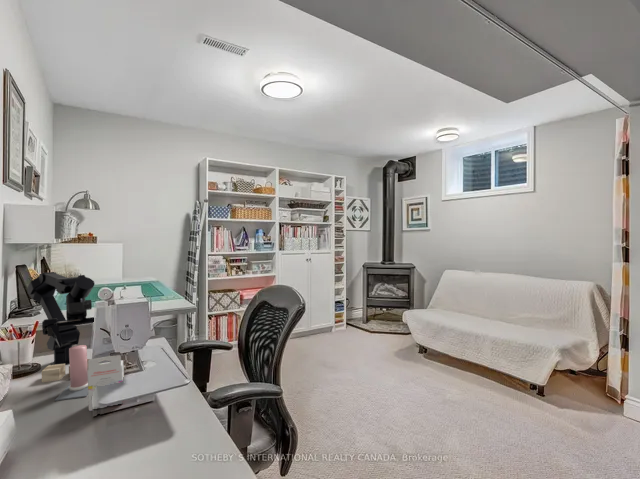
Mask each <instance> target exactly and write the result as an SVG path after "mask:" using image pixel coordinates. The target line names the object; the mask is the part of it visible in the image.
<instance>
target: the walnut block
mask: <svg viewBox="0 0 640 479" xmlns="http://www.w3.org/2000/svg"><path fill="white" fill-rule="evenodd" d="M89 359H90V358H87V368H88V360H89ZM68 378H70V365H68Z"/></svg>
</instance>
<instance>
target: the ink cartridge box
mask: <svg viewBox="0 0 640 479" xmlns="http://www.w3.org/2000/svg"><path fill="white" fill-rule="evenodd" d="M88 359H89V360H88V371H87V372H88V395H87V399H88V402H87V403H88V411H89V412H91V411H93V410H92V396H93V392H94V391H95V388H96V386H105V385H110V384H114V383H120V382H122V381H123V377H124V378H125V370H124V359H123V360H122V357H121V355H120V354H117V355H112V356H111V355H110V356H103V357H97V358H88ZM104 361H106V362H104ZM108 361H109V362H108ZM100 362H103V363H100Z"/></svg>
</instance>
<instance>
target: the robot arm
mask: <svg viewBox="0 0 640 479" xmlns="http://www.w3.org/2000/svg"><path fill="white" fill-rule="evenodd" d="M94 287H95V281H94V280H93V279H92V278H89V277H87V276H86V275H85V274H80V275H78V276H74V277H73V276H72V277H71V276H69V277H68V276H67V277H66V276H64V275H61V274H58V273H57V272H56V271H49V272H48V271H47V272H42V273H40V274H38V277H36V278H34V279H33V280H31V281H30V282H29V284H28V286H27V291H26V292H27V294H28V295H29V296H30V298H31V300H33V301H35V302H37V303H40V305H41V307H42V309H43V311H44V312H43V313H44V314H45V316H46V319H44V320H43V321H41V322H42V323H41V328H42V329H41V330H42V335H45V336H47V337H49V339H48V340H47V342H46V346H47V349H48V350H50V351H53V361H52V362H51V363H50V364H49V365H57V364H65V365H70V361H69V348H71V347H73V346H74V345H75V346H76V345H78V344H79V341H80V336H81V332H80V329H78V326H82V325H83V326H84V325H88V324H89V325H90V324H94V323H93V322H94V317H95V316H94V317H87V316H88V314H87V313H88V311H89V310H92V307H93V306H92V303H93V302H92V299H86V298H87V297H88V296H89V295H90V294H91V292H92V291H93V288H94ZM56 292H57V293H58V294H60V295H65V294H66V296H65V301H66V304H65V305H66V307H65V308H66V311H65V314H66V316H65V315H64V313H63V311H62V310H61V307H60V306H59V303H58V301H57V300H56V298H55V295H54V294H55V293H56Z"/></svg>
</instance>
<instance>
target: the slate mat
mask: <svg viewBox="0 0 640 479" xmlns="http://www.w3.org/2000/svg"><path fill="white" fill-rule="evenodd" d="M69 386H70V383H69V384H68V385H67V386H66V387H65V389H64V390H63V391H61V392H60V393H59V395H58V396H57V397H56V398H55V399H54V401H55V402H58V401H64V400H72V399H79V398H86V397H88V387H87V388H85V389H82V390H78V391H70V390H69Z"/></svg>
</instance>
